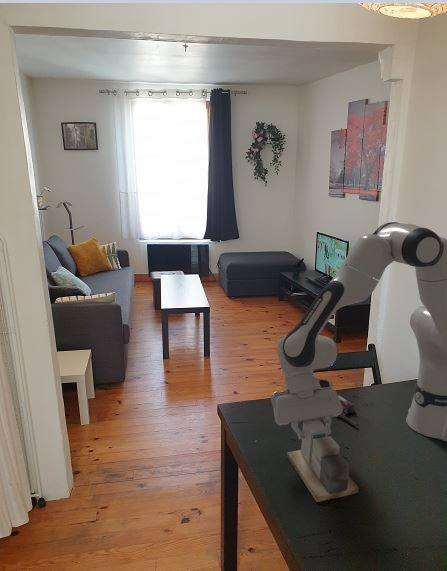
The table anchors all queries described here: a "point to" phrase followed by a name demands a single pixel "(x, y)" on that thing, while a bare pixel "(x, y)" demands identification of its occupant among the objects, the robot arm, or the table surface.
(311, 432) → the block
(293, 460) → the rail board
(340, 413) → the robot arm
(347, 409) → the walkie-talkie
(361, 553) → the table surface
